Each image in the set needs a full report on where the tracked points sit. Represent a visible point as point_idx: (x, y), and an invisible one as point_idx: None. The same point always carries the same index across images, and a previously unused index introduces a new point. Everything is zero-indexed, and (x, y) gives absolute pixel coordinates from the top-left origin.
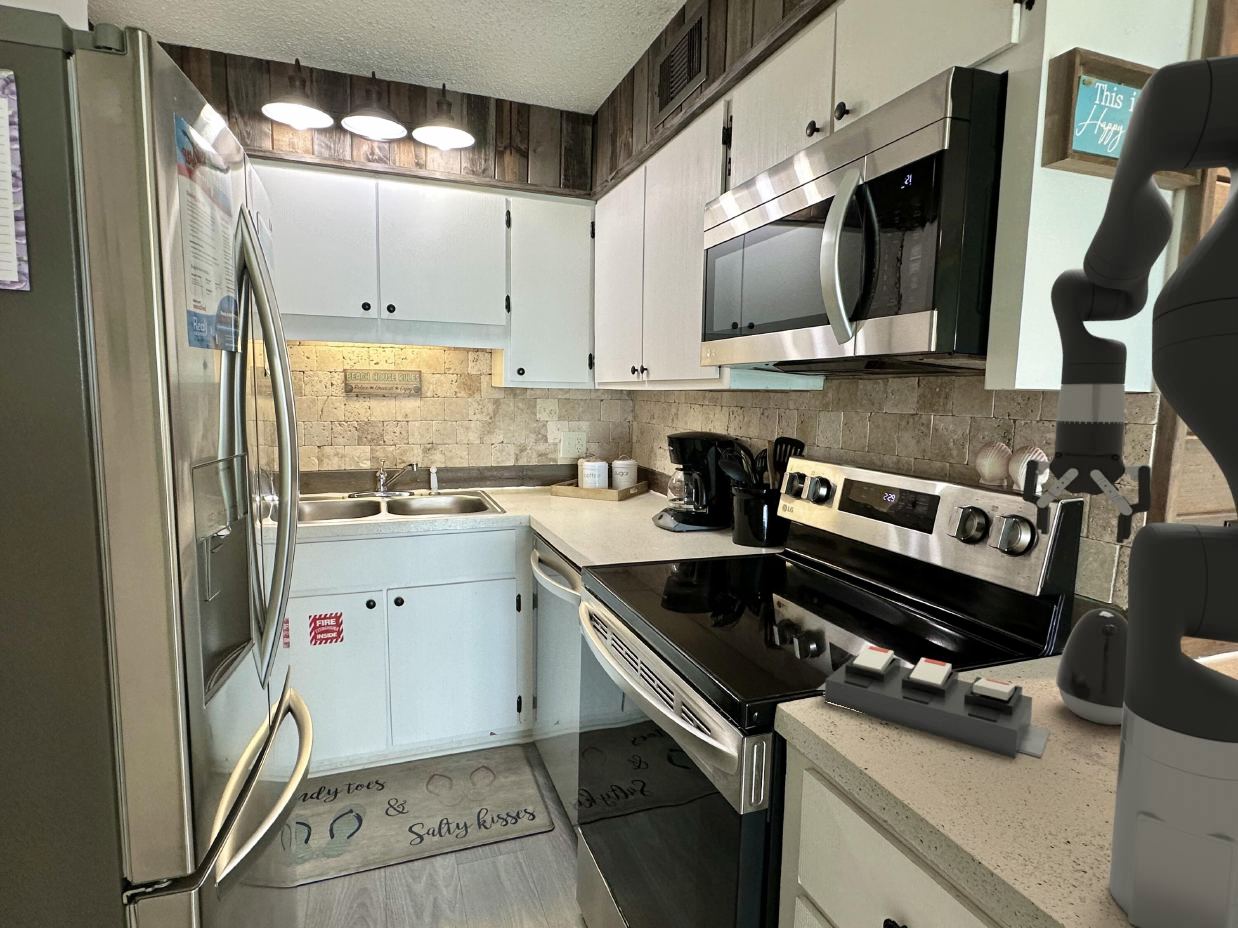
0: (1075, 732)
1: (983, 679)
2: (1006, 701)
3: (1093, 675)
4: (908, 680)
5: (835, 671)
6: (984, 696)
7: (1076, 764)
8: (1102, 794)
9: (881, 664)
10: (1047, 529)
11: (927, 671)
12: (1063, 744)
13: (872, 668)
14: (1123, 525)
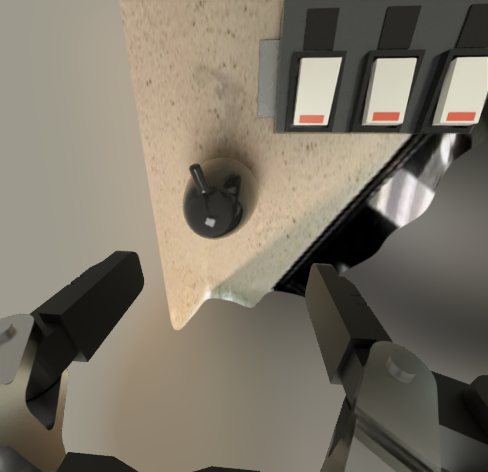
0: (239, 137)
1: (326, 115)
2: None
3: (223, 162)
4: (417, 50)
5: None
6: None
7: (231, 53)
8: None
9: (456, 73)
10: (315, 279)
11: (394, 86)
12: (245, 98)
13: (467, 58)
14: (77, 283)
